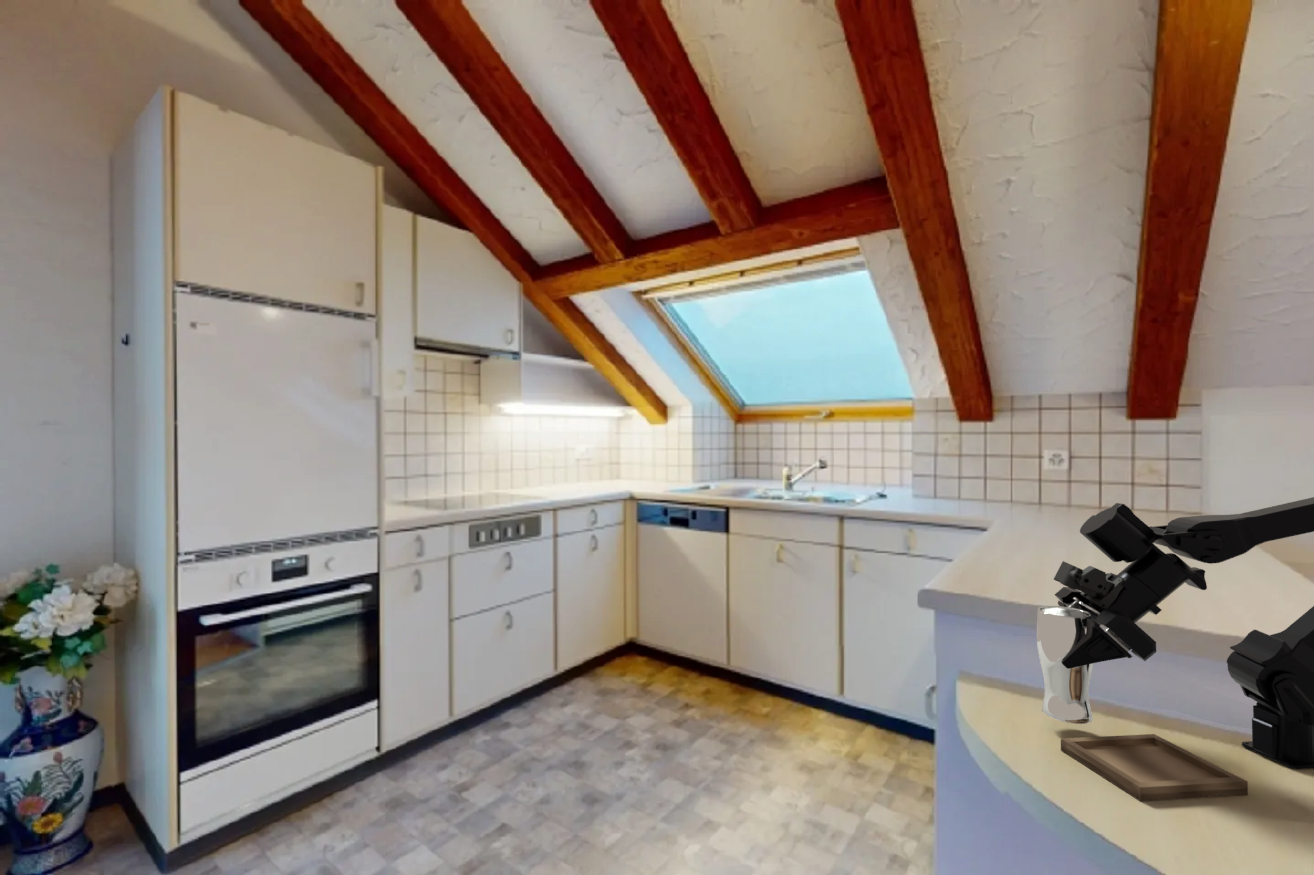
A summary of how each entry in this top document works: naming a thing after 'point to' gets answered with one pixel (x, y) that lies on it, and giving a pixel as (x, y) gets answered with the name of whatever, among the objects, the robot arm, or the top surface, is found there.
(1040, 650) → the silver metal tumbler
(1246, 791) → the walnut tray
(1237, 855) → the top surface
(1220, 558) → the robot arm
